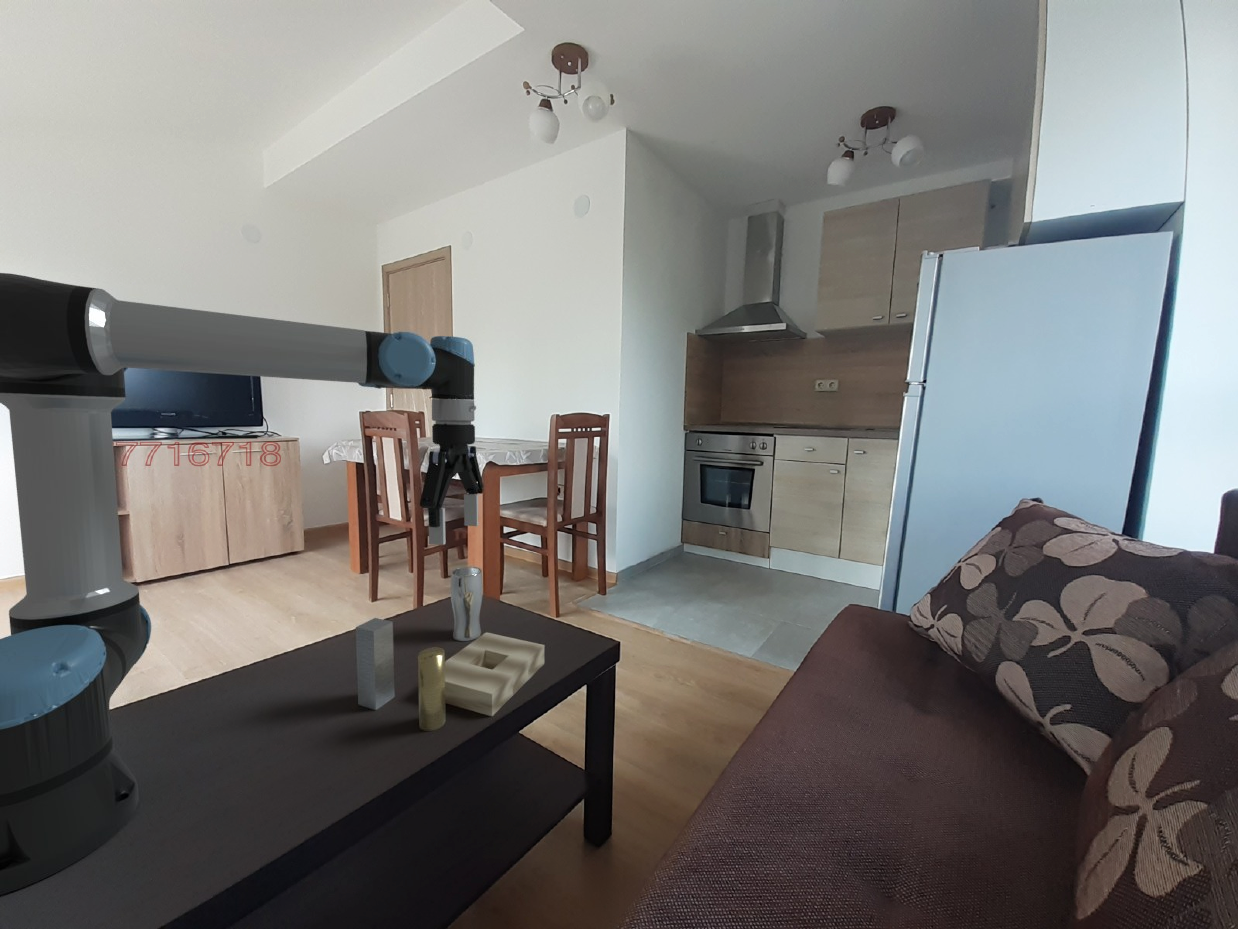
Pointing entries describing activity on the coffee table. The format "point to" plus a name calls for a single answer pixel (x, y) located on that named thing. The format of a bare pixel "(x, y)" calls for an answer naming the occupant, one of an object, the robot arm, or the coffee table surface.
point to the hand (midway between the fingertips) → (455, 534)
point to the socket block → (490, 672)
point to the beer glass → (466, 602)
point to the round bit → (431, 688)
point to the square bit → (375, 663)
